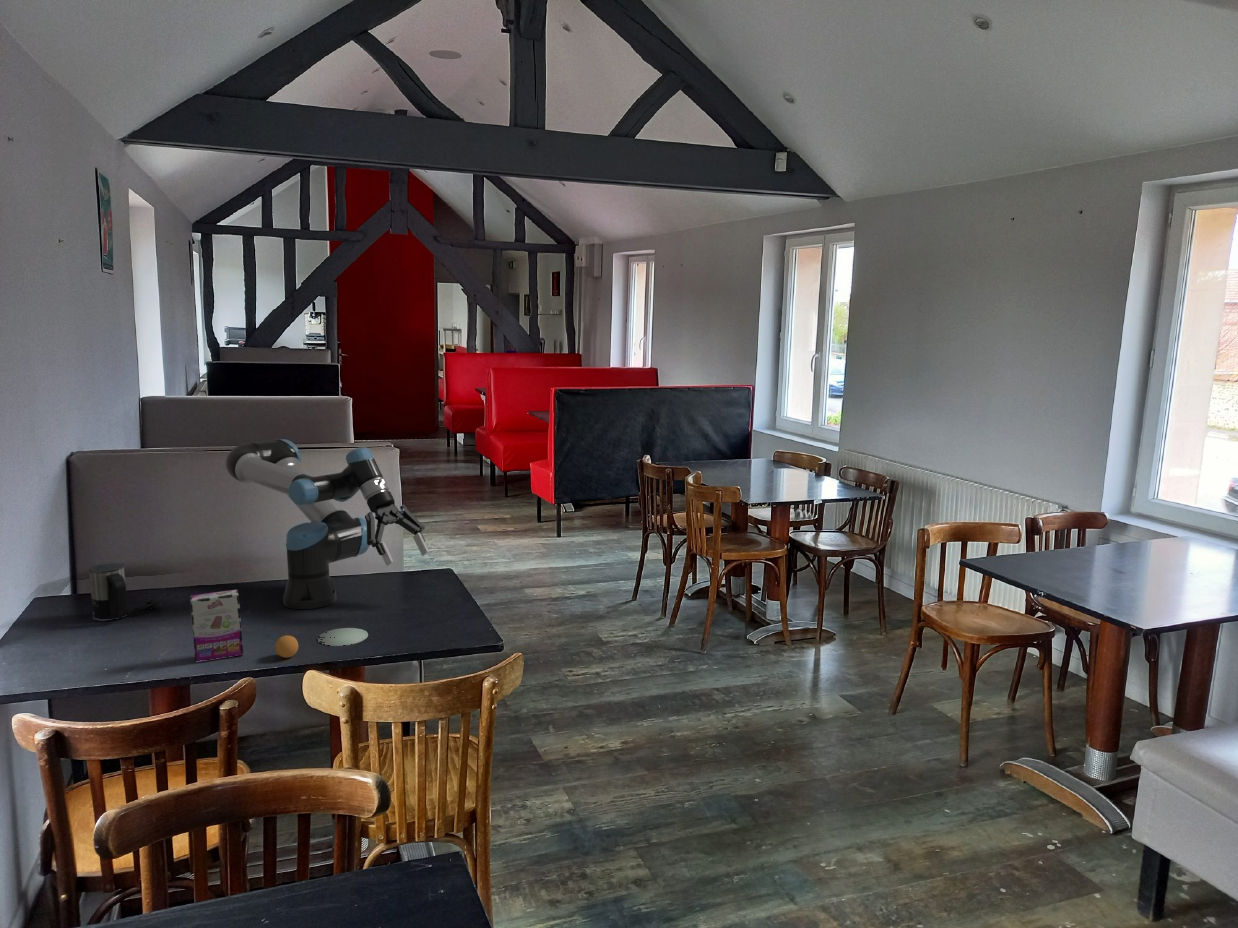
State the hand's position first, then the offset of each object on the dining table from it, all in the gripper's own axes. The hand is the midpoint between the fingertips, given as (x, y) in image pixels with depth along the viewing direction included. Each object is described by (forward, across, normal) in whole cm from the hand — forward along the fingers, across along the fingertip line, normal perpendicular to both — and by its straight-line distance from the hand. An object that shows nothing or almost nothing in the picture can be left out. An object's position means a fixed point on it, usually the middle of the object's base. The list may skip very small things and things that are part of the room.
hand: (408, 558), depth 255 cm
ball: (+12, -43, +5) cm, 45 cm away
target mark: (+14, -26, +6) cm, 31 cm away
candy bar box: (+6, -53, +18) cm, 57 cm away
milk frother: (-23, -51, +58) cm, 81 cm away
